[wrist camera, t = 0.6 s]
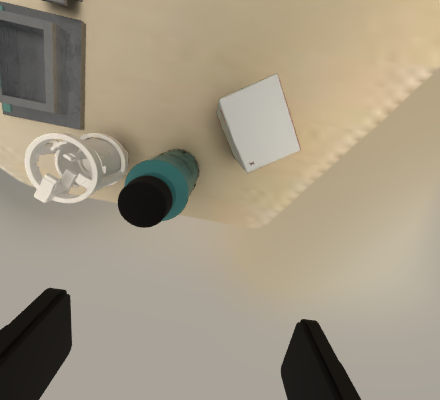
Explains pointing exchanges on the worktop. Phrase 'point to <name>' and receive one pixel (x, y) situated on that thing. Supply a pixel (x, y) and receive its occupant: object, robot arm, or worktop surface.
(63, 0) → the lever
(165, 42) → the worktop surface
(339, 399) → the robot arm
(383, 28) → the worktop surface
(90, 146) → the clear white hollow cylinder
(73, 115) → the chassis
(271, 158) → the small box
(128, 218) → the beverage bottle
